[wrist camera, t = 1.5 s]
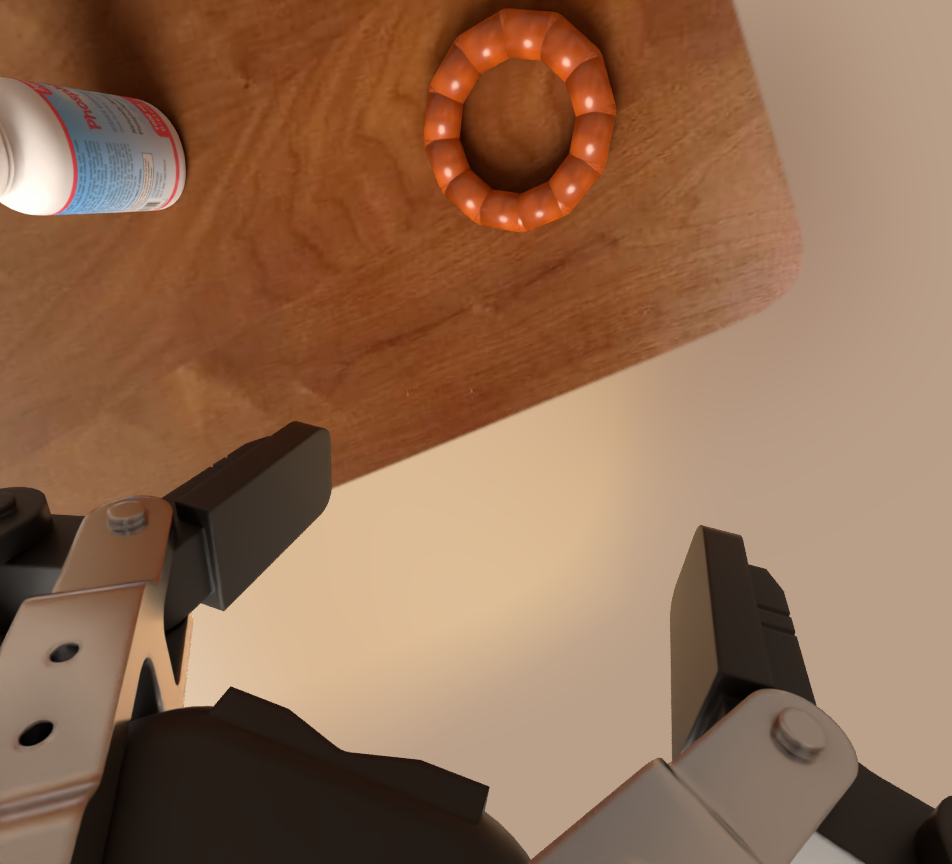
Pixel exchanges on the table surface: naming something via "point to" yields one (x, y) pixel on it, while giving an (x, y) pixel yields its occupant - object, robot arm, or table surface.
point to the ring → (589, 97)
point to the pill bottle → (85, 152)
